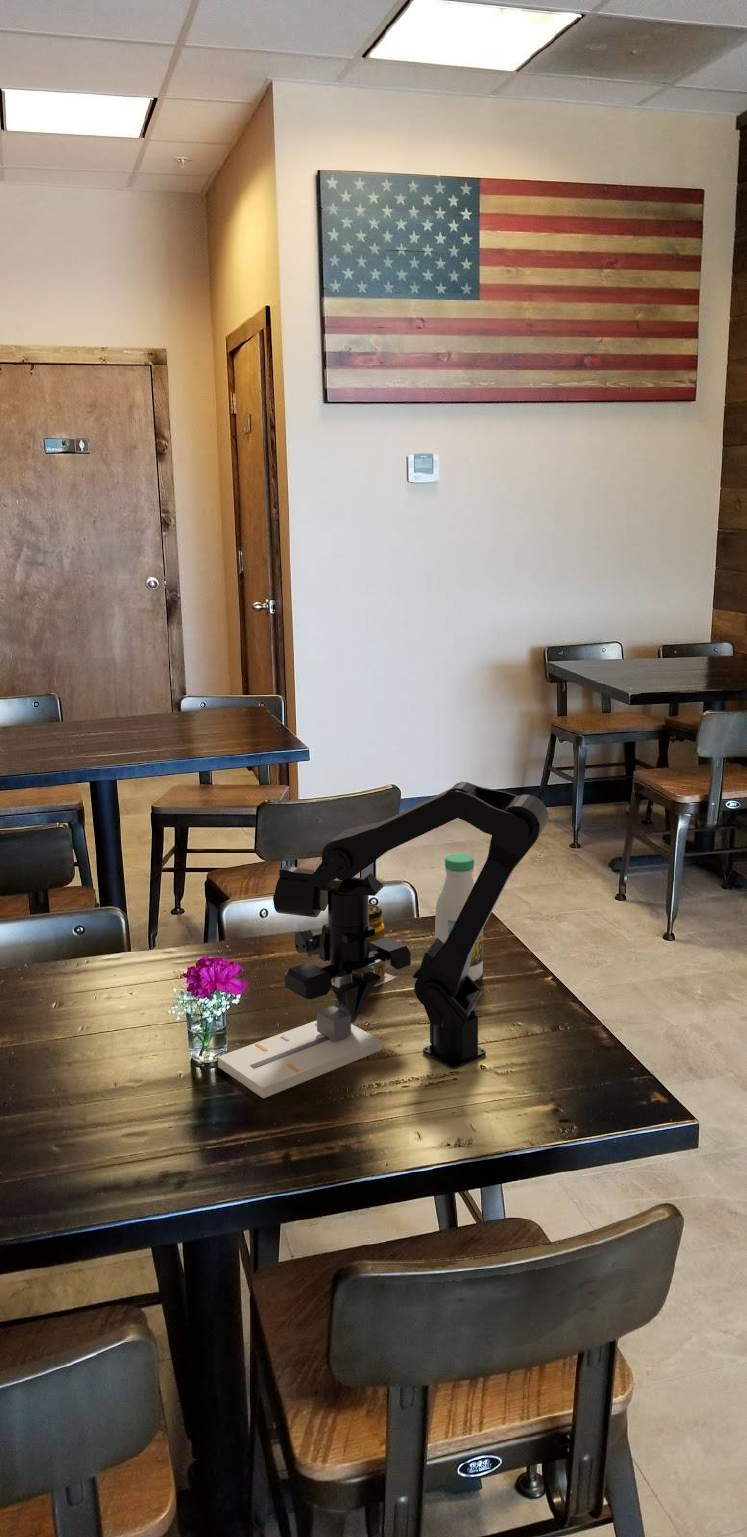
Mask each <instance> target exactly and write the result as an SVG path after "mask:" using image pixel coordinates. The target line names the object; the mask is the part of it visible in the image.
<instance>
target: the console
mask: <svg viewBox="0 0 747 1537" xmlns="http://www.w3.org/2000/svg"><path fill="white" fill-rule="evenodd" d="M381 1051H382V1039H380V1038H378V1037H375V1036H374V1035H372V1034H370V1033H369V1032H367V1031H365V1030H364V1029H361V1028H360V1027H358V1026H356V1025H354V1023H351V1035H349V1036H347V1037H344V1038H342V1039H339V1040H337V1041H333V1040H331V1039H329V1038H328V1037H326V1036H324V1035H323V1034H321V1033H319V1032H318V1031H317V1019H316V1020H314V1021H311V1022H308V1023H306V1024H304V1025H301V1026H297V1027H295V1028H292V1029H289V1030H287V1031H284V1032H281V1033H279V1034H276V1035H273V1036H270V1037H268V1038H265V1039H263V1040H259V1041H256V1042H255V1043H252V1044H249V1045H246V1046H244V1047H240V1048H238V1049H236V1050H233V1051H230V1052H227V1053H224V1054H222V1055H219V1056H217V1067H218V1068H219V1069H221V1070H222V1071H223V1072H225V1073H226V1074H228V1075H229V1076H230V1077H232V1078H233V1079H235V1080H236V1081H238V1082H239V1083H240V1084H242V1085H243V1086H245V1087H246V1088H248V1089H249V1090H250V1091H252V1092H253V1093H254V1094H257V1095H258V1096H259V1097H260V1098H262V1099H266V1098H268V1097H271V1096H273V1095H276V1094H278V1093H280V1092H283V1091H285V1090H288V1089H289V1088H293V1087H295V1086H297V1085H300V1084H302V1083H305V1082H306V1081H309V1080H312V1079H314V1078H317V1077H320V1076H321V1075H325V1074H327V1073H329V1072H332V1071H334V1070H336V1069H339V1068H342V1067H344V1066H346V1065H349V1064H351V1063H354V1062H356V1061H358V1060H361V1059H363V1058H366V1057H368V1056H371V1055H373V1054H376V1053H379V1052H381Z"/></svg>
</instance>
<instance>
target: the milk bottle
mask: <svg viewBox="0 0 747 1537" xmlns="http://www.w3.org/2000/svg"><path fill="white" fill-rule="evenodd" d="M444 867H445V868H444V870H445V872H446V873H445V874H446V876H445V879H444V882H443V885H442V886H441V887H442V888H441V889H440V892H439V894H438V897H437V900H436V904H435V916H434V917H435V918H434V919H435V922H434V923H435V924H434V927H435V928H434V934H435V936H434V940H435V939H436V938H438V939H439V940H441V941H442V942H443V943H445V941H446V940H447V938H448V936H449V934H450V932H451V930H452V928H453V926H454V924H455V922H456V920H457V918H458V916H459V914H460V912H461V910H462V908H463V906H464V904H465V902H466V900H467V898H468V896H469V894H470V892H471V890H472V888H473V886H474V884H475V882H474V876H473V873H474V871H475V869H474V867H475V858H474V857H473V856H471V855H469V854H465V853H456V854H455V853H454V854H450V855H446V857H445V858H444ZM483 964H484V929H483V930H482V932H481V934H480V936H479V938H478V940H477V942H476V943H475V945H474V948H473V953H472V959H471V964H470V967H469V971H468V974H467V975H468V976H469V977H470V978H471V979H472V980H473V981H474V982H475V981H477V980H479V979H480V978H481V977H482V975H483V971H484V970H483V968H484V965H483Z"/></svg>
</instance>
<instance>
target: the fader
mask: <svg viewBox="0 0 747 1537" xmlns="http://www.w3.org/2000/svg"><path fill="white" fill-rule="evenodd" d="M316 1020H317V1031H318V1032H319V1033H321V1034H323V1035H324V1036H326V1037H328V1038H329V1039H331V1040H333V1041H337V1040H339V1039H342V1038H344V1037H347V1036H349V1035H351V1024H352V1023H351V1015H349V1014H348V1013H346V1012H344V1011H342V1010H341V1008H338V1007H336V1006H335V1005H331V1006H329V1007H327V1008H324V1009H321V1010H318V1011H316Z"/></svg>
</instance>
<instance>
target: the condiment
mask: <svg viewBox="0 0 747 1537" xmlns="http://www.w3.org/2000/svg"><path fill="white" fill-rule="evenodd" d="M383 922H384V921H383V909H382V908H381V907H380V906H379V905H377V904H373V903H369V926H371V927H373V928H375V935H374V936H370V937H369V943H370V942H373V941H376V940H379V939H382V938H385V936H386V935H385V924H384V923H383ZM374 969H375V974H377V975H379V976H381V980H380V981H378V982H376V984H375V986H374V987H375V988H376V987H377V986H381V985H383V984H386V983H387V982H389V981H392V980H395V979H396V978H397V976H395V975H392V974H389V973H387V972H386V961H385V962H382V963H379V964H376V965H374ZM374 987H373V988H374Z"/></svg>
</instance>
